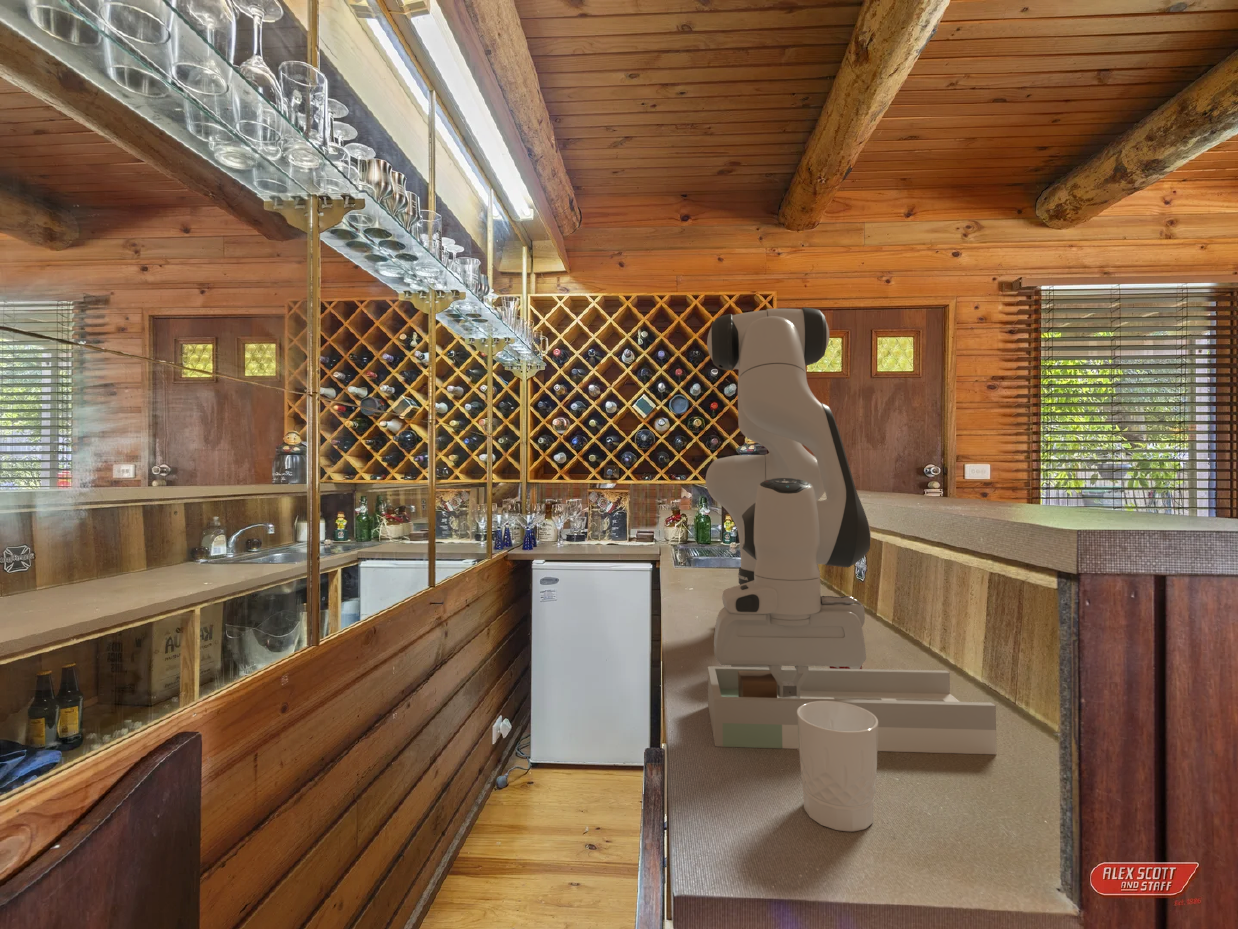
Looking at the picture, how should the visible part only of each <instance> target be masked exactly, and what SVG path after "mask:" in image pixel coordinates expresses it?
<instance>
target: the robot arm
mask: <svg viewBox="0 0 1238 929" xmlns="http://www.w3.org/2000/svg"><path fill="white" fill-rule="evenodd" d="M706 340H707V342H706V347H707V348H706V349H707V351H708V355H709V357H710V359H711V360H712V364H713V365H714V366H715V367H717V368H718V369H719V370H724V371H731V372H732V371H734V370H738V377H737V416H738V417H737V421H738V422H737V423H738V429H739V431H740V433H741V434H742V435H743V436H744V437H745V438H747V439H748V440H750V441H751V442H754V443H757V444H759V445H761V446H763V447H764V448H765V449H767V451H768V453H766V454H742V455H741V454H740V455H739V454H738V455H737V454H736V455H731V456H725V457H720V458H716V459H714V460H713V461H712V462H711V464H710V465H709V467H708V468H707V470H706V474H705V486H706V489H707V492H708V494H709V496H710V497H711V498H712V499H713V501H715V502H717V504H719V505H720V506H721V507H723V508H724V509H725V510H726V512H727V513H728V514H729V516H730V517H731V519H732V521H733V522H734V525H735V527H736V530H737V534H738V541H739V552H740V566H739V568H738V574H737V577H738V584H737V585H734V586H731V587H727V588H725V589H724V590H723V591H722V596H721V599H722V604H723V607H722V608H721V609H720V610H719V612H718V614H717V617H716V619H715V620H716V622H715V625H714V626H715V628H714V637H713V654H714V658H715V659H716V661H717V662H718V663H719V664H720V665H721V666H731V665H762V666H769V670H770V672H771V674H772V675H773V677H774V678H775V680H776V682H777V694H778V697H779V698H800V686H801V685H802V684H803V682H804V680H805V679H806V677H807V676H808V668H809V667H830V666H833V667H860V666H861V665H862V666H863V665H864V663H865V662H866V660H867V652H866V650H867V649H866V643H865V634H864V631H863V626H864V625H865V621H866V620H865V618H866V617H865V616H866V615H865V607H864V605H863V604H862V603H861V601H859V600H857V599H855V598H854V597H852V596H850V595H849V596H848V595H844V596H833V595H832V596H831V595H821V594H822V593H821V590H822V589H821V570H820V568H819V565H825V566H832V567H840V568H851V567H852V566H854V565H856V563H859V561H861V560H862V559H863V558H864V557H865V556H866V555H867V554H868V552H869V551H870V549H871V541H872V540H871V539H872V533H871V527H870V524H869V520H868V518H867V514H866V511H865V509H864V507H863V504H862V501H861V498H860V496H859V494H858V492H857V489H856V484H855V481H854V478H853V477H854V476H853V475H852V470H851V468H850V464H849V460H848V457H847V453H846V450H845V448H844V443H843V439H842V435H841V433H840V431H839V428H838V427H839V426H838V425H837V422H836V418H835V416H834V414H833V412H832V410H831V408H830V406H828V405H827V404H825V403H823V402H821V401H819V399H818V398H817V397H816V396H815V395H814V393H813V392H812V390H811V388H810V386H809V384H808V377H807V370H806V366H810V365H814V364H816V363H818V362H819V361H820V360H821V359H822V358H823V357H824V356H825V354H826V351H827V348H828V346H829V342H830V328H829V324H828V322H827V320H826V316H825V314H823V312H822V311H821V310H820V309H816V308H812V307H811V308H810V307H802V308H800V309H799V308H766V309H764V310H756V311H755V310H754V311H748V312H747V311H746V312H743V313H737V314H732V313H728V314H724V315H721V316H719V317H716V319H715V320H713V321H712V322H711V327H710V329H709V331H708V335H707V338H706ZM805 447H806V448H807V449H808V450H810V452H812V453H810V452H809V451H808V450H807V449H806V448H805ZM824 494H825V497H826V498H825V499H822V500H820V499H821V498H822V497H823V496H824ZM783 667H794V668H795V669H796V670H797V674H796V676H795V678H794V679H793V681H781V679H780V677H779V676H778V674H777V673H781V668H783Z"/></svg>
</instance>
